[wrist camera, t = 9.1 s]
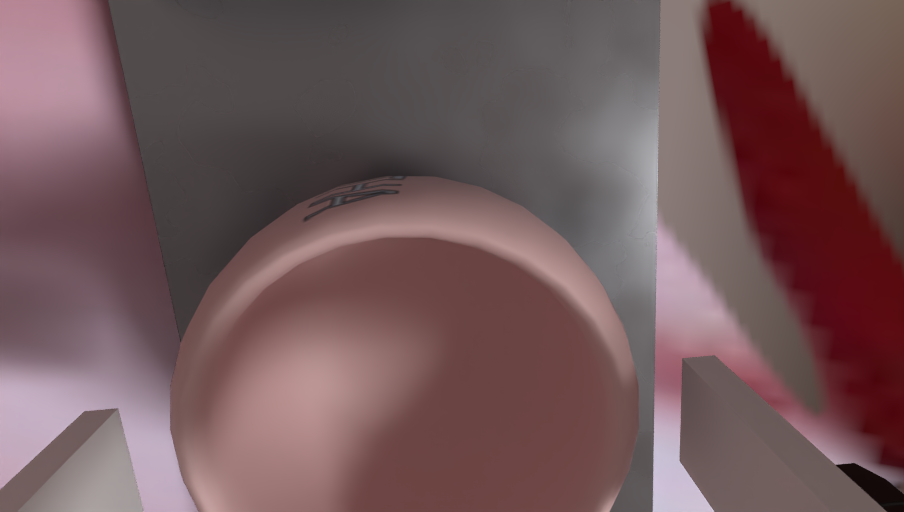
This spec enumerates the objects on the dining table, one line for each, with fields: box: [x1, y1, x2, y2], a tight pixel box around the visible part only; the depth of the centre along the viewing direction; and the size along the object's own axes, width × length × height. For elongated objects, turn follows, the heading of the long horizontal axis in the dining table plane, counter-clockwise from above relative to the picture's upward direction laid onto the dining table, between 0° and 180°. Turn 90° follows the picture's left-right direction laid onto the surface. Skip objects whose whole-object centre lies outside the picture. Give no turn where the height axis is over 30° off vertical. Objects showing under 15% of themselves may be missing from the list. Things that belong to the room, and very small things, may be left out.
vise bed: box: [108, 0, 660, 512], centre depth 15 cm, size 14×30×9 cm, turn 4°
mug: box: [170, 176, 639, 512], centre depth 15 cm, size 12×10×6 cm
